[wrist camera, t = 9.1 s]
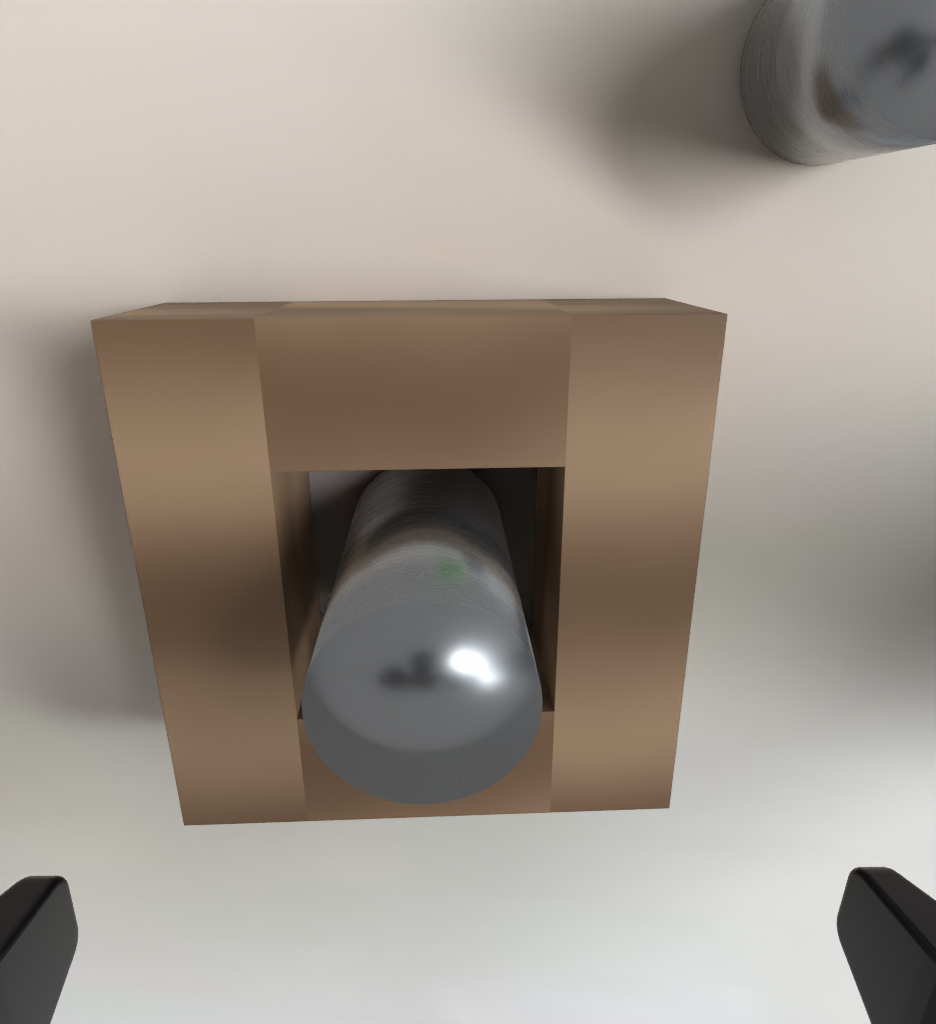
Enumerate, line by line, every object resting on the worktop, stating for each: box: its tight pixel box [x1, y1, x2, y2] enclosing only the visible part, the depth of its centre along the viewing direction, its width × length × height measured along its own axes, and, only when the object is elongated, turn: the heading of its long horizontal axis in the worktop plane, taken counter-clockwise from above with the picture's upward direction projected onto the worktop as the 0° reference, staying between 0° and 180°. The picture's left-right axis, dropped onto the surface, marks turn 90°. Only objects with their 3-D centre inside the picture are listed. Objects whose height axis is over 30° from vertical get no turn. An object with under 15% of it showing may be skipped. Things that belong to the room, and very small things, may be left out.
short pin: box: [740, 0, 936, 165], centre depth 14 cm, size 4×4×4 cm
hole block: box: [91, 298, 727, 825], centre depth 18 cm, size 12×12×4 cm
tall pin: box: [302, 468, 543, 804], centre depth 16 cm, size 4×4×8 cm
